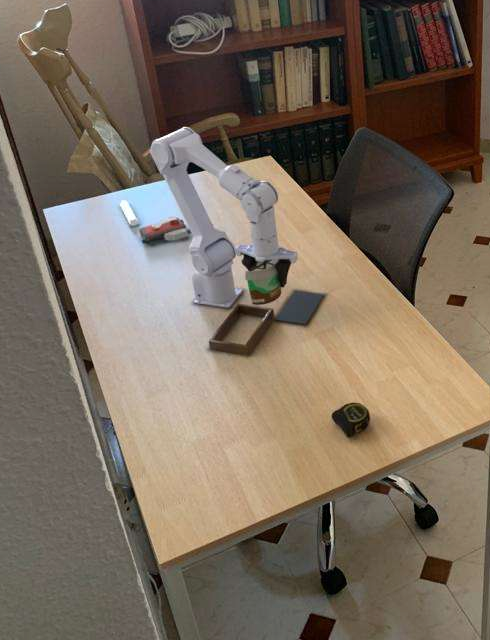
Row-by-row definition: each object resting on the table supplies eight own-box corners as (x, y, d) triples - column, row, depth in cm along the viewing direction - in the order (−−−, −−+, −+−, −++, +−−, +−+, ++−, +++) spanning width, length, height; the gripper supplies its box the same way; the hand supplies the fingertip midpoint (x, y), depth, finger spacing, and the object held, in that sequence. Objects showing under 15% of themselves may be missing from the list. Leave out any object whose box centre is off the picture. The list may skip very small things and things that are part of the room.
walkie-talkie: (146, 250, 220) (215, 230, 230) (143, 236, 218) (212, 216, 228) (136, 237, 226) (203, 217, 236) (133, 223, 224) (201, 204, 234)
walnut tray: (210, 349, 184) (208, 341, 182) (239, 311, 196) (237, 303, 195) (247, 355, 182) (246, 346, 180) (274, 316, 195) (273, 308, 193)
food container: (274, 311, 185) (269, 275, 179) (249, 308, 186) (244, 272, 180) (294, 282, 195) (290, 248, 190) (270, 279, 196) (266, 245, 191)
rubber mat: (274, 320, 193) (274, 319, 193) (294, 291, 204) (294, 290, 204) (305, 325, 192) (305, 324, 192) (324, 295, 203) (324, 294, 203)
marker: (124, 205, 244) (136, 227, 233) (117, 203, 243) (128, 225, 231) (126, 197, 244) (139, 219, 232) (120, 196, 242) (131, 217, 231)
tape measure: (331, 422, 163) (329, 409, 161) (360, 410, 167) (359, 396, 165) (346, 442, 159) (345, 429, 157) (376, 429, 162) (375, 415, 160)
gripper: (226, 238, 179) (234, 288, 187) (286, 246, 177) (292, 296, 184) (240, 223, 185) (247, 272, 192) (298, 231, 183) (304, 280, 190)
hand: (270, 283), depth 188 cm, fingers closed on food container, 6 cm apart
